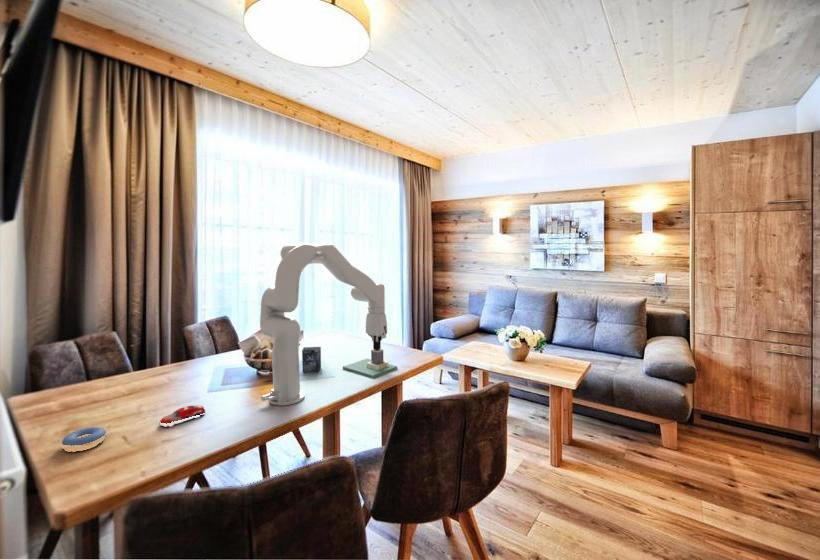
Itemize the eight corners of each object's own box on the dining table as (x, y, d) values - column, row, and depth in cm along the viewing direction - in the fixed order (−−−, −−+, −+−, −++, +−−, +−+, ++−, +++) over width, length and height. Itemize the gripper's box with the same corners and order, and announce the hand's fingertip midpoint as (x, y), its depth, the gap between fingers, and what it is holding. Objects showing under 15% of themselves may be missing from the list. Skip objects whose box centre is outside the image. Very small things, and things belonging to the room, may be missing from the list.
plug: (377, 368, 171) (377, 351, 170) (371, 366, 173) (371, 349, 173) (383, 366, 174) (383, 349, 173) (377, 364, 176) (377, 348, 176)
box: (302, 372, 169) (301, 350, 168) (304, 368, 175) (303, 347, 174) (320, 372, 170) (319, 349, 169) (321, 368, 176) (320, 346, 175)
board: (373, 378, 162) (373, 371, 161) (342, 369, 174) (342, 362, 174) (397, 368, 174) (397, 362, 174) (367, 360, 186) (367, 354, 186)
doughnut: (50, 454, 103) (51, 438, 103) (80, 438, 113) (81, 423, 113) (87, 456, 103) (88, 440, 103) (114, 440, 113) (115, 425, 113)
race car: (162, 430, 117) (161, 418, 117) (157, 425, 121) (156, 413, 120) (207, 416, 127) (206, 405, 126) (201, 411, 130) (200, 400, 130)
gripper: (359, 309, 173) (360, 348, 174) (382, 313, 164) (383, 353, 165) (370, 307, 179) (371, 345, 180) (394, 311, 169) (394, 350, 171)
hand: (376, 349), depth 173 cm, fingers closed
